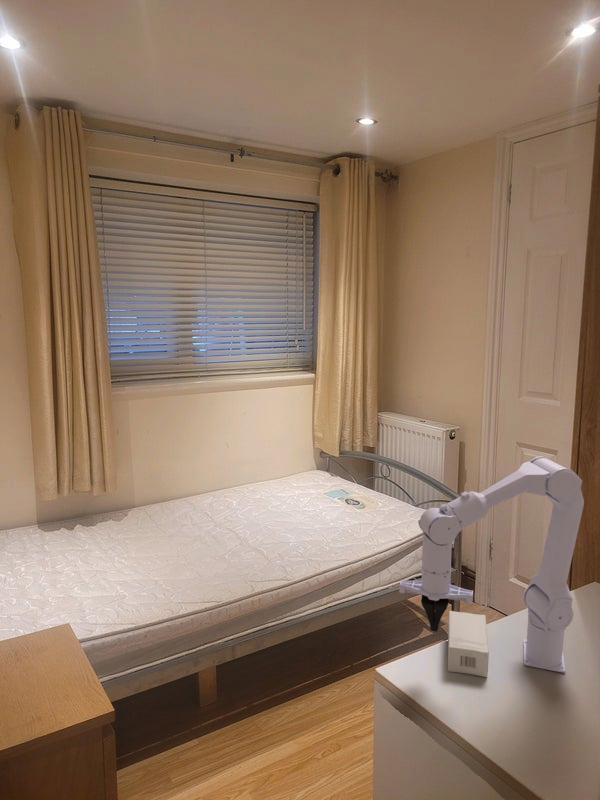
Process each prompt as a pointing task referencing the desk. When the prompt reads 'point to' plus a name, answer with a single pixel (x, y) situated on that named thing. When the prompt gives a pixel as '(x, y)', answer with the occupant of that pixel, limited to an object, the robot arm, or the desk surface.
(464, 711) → the desk surface
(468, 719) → the desk surface
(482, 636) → the skincare box
